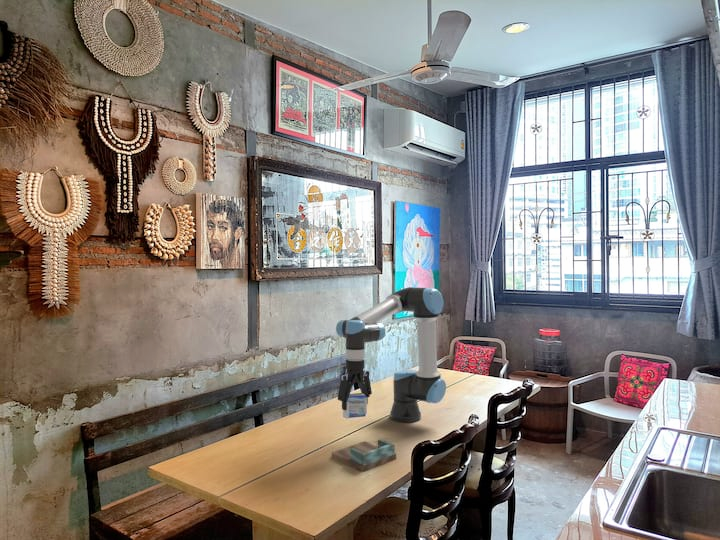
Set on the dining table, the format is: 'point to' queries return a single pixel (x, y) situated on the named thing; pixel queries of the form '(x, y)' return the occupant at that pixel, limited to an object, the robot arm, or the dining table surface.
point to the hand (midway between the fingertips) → (355, 415)
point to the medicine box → (357, 405)
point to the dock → (366, 454)
